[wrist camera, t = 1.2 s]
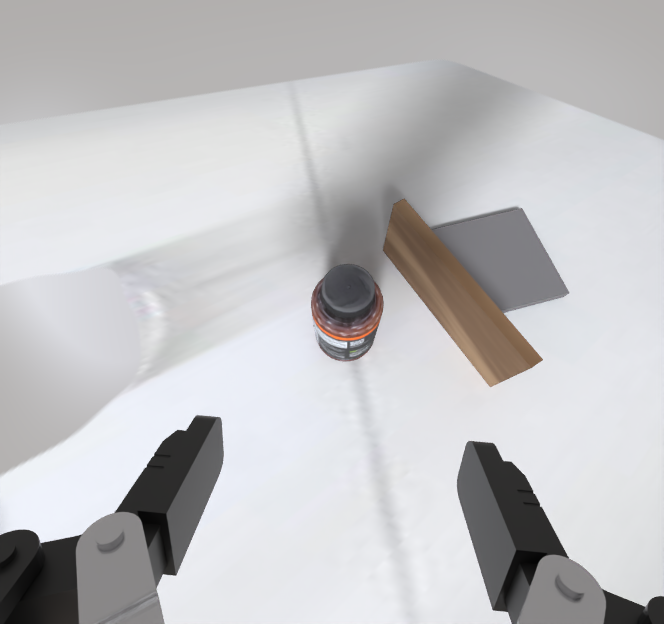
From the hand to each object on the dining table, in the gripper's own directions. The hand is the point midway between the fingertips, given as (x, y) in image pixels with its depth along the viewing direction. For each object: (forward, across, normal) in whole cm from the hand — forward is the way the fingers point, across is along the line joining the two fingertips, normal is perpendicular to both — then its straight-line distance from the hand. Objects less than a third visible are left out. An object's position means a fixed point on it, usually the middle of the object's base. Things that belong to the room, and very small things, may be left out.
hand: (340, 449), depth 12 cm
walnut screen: (+27, -10, +5) cm, 29 cm away
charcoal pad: (+31, -16, +1) cm, 35 cm away
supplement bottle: (+25, 0, +8) cm, 26 cm away
